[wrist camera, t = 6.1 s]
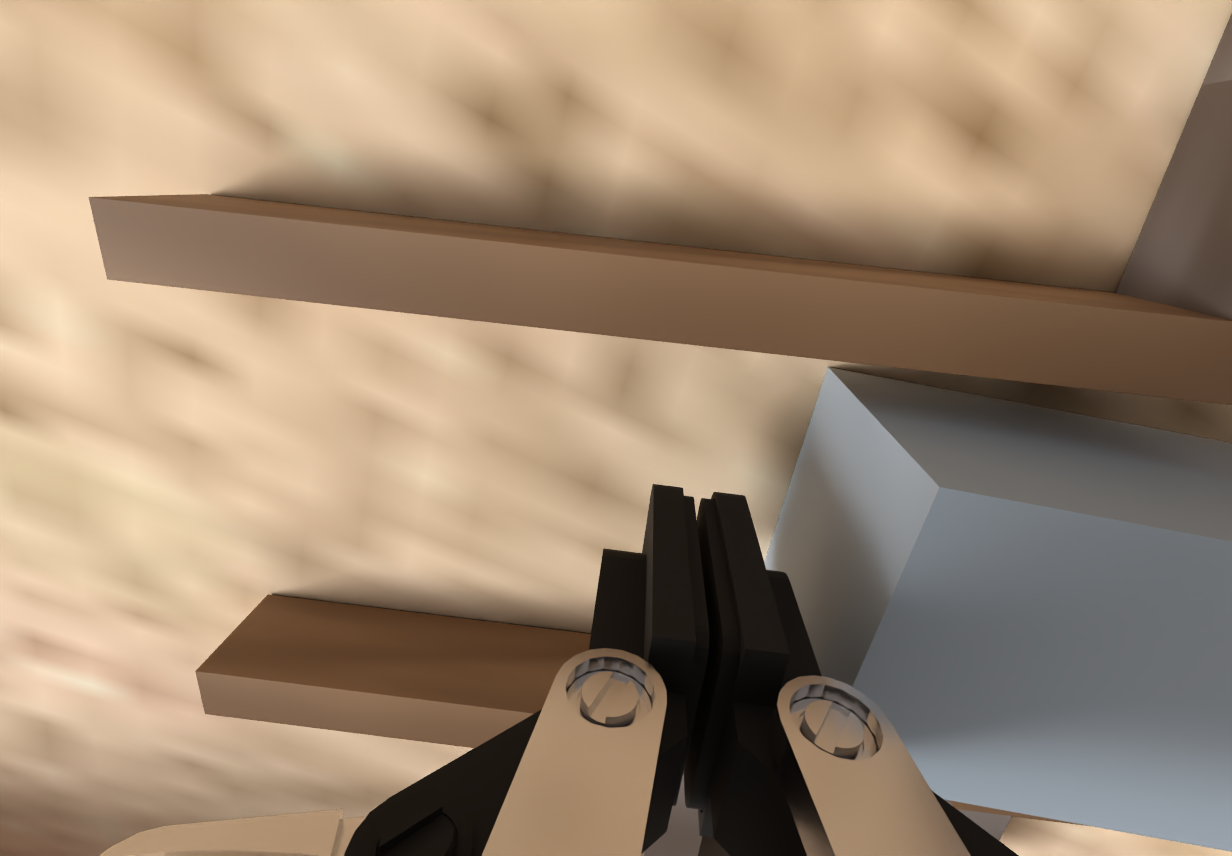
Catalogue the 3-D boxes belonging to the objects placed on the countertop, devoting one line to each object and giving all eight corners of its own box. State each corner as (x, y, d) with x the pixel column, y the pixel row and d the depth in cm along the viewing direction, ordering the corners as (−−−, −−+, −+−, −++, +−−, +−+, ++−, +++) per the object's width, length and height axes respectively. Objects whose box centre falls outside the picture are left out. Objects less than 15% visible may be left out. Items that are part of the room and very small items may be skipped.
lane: (159, -110, 9) (-3, -206, 7) (2234, 92, 9) (2793, 60, 6) (292, 758, 17) (235, 849, 15) (1422, 902, 16) (1549, 1022, 14)
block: (828, 366, 12) (940, 487, 7) (1275, 450, 12) (1675, 623, 7) (760, 574, 14) (813, 775, 9) (1145, 645, 14) (1394, 881, 9)
